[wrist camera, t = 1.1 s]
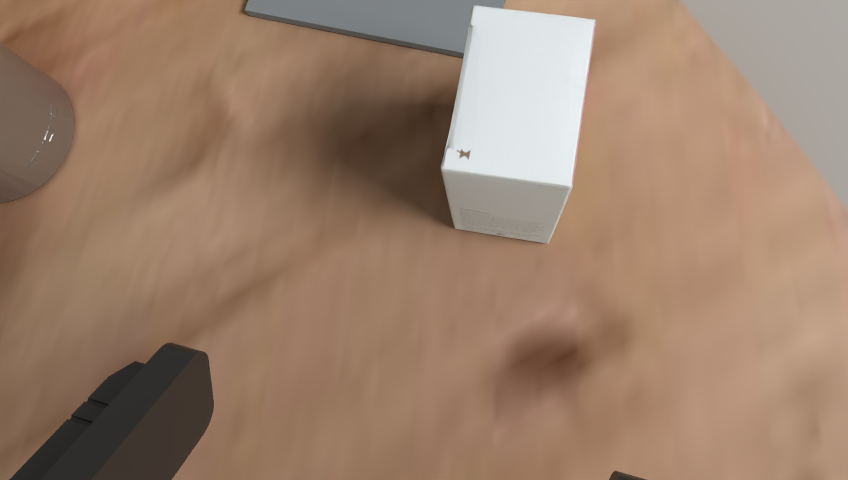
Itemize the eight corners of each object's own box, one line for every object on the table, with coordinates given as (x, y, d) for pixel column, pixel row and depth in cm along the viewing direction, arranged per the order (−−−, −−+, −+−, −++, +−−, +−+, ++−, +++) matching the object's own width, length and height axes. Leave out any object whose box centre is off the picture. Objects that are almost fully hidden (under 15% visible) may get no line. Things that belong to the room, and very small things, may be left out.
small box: (549, 246, 35) (574, 193, 25) (452, 230, 36) (437, 172, 26) (569, 115, 37) (601, 15, 26) (475, 103, 37) (471, 0, 27)
